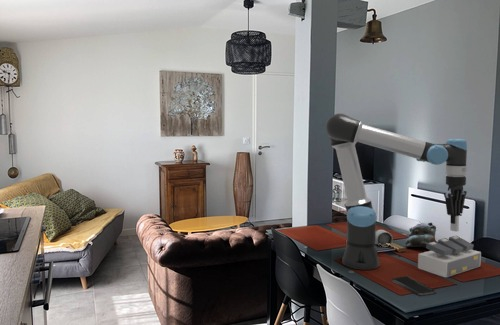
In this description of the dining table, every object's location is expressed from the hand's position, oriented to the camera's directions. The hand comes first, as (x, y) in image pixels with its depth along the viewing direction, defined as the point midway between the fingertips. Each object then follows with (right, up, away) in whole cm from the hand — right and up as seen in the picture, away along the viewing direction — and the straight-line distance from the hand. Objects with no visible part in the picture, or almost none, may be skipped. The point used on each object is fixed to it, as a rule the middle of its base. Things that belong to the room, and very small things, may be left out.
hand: (454, 230), depth 166 cm
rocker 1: (-11, -5, -10) cm, 16 cm away
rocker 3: (+1, -5, -2) cm, 6 cm away
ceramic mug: (-23, -12, +26) cm, 37 cm away
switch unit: (-5, -14, -5) cm, 16 cm away
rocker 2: (-5, -5, -6) cm, 9 cm away
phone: (-28, -16, -25) cm, 41 cm away
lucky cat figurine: (-5, -12, +22) cm, 26 cm away
